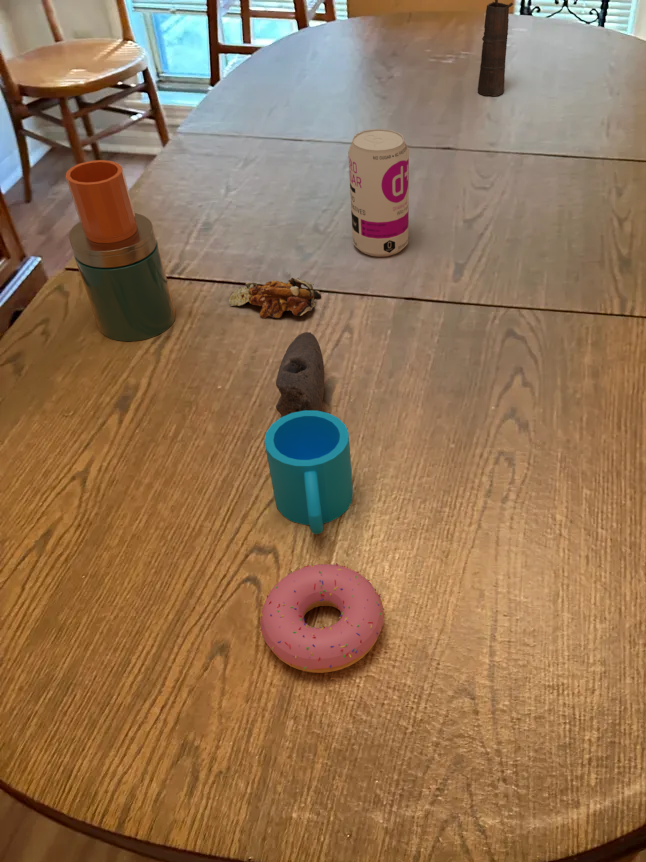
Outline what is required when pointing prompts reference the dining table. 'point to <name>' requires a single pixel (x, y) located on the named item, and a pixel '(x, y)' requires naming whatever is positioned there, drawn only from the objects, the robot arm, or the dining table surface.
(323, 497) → the mug
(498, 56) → the butter churn
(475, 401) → the dining table surface
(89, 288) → the jar
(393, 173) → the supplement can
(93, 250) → the jar lid
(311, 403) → the perforated stone tool
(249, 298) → the brown lumpy piece
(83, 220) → the cup
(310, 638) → the doughnut
